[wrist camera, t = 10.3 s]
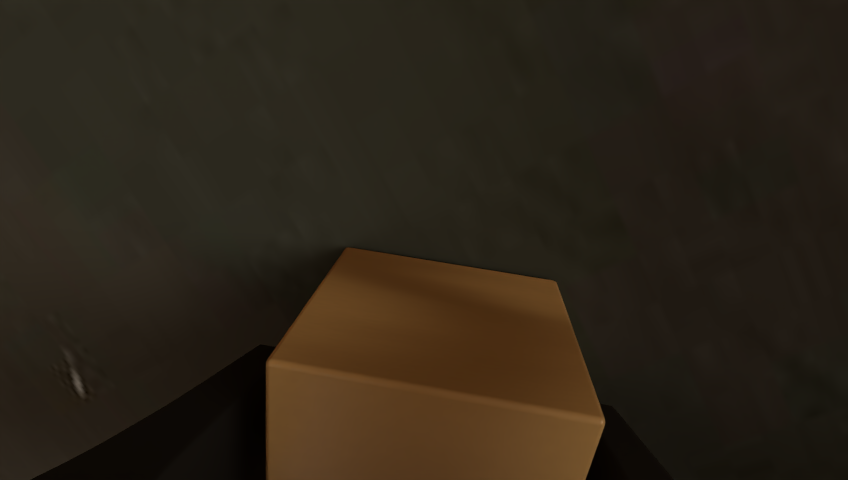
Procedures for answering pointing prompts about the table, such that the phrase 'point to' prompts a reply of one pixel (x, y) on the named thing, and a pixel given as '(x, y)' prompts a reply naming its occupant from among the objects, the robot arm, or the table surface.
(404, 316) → the brown wooden block
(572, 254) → the table surface
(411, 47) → the table surface
